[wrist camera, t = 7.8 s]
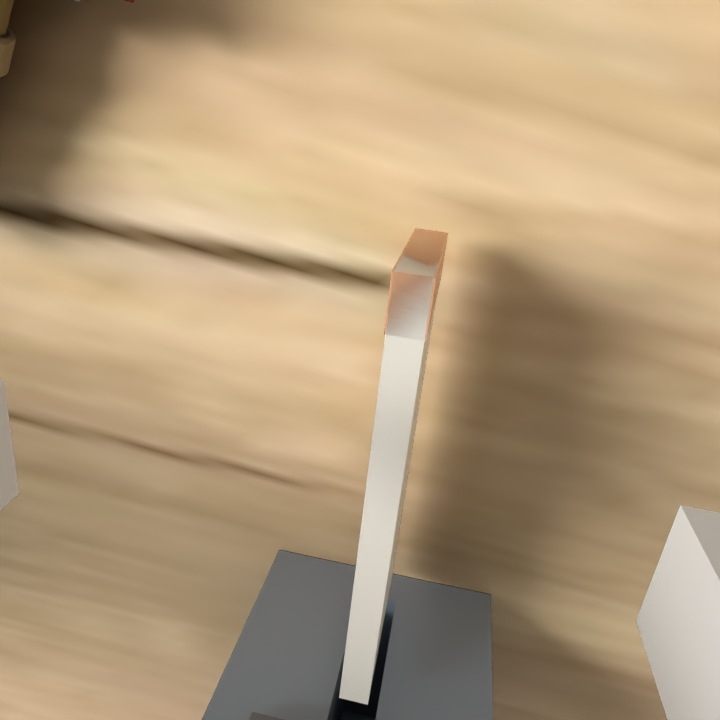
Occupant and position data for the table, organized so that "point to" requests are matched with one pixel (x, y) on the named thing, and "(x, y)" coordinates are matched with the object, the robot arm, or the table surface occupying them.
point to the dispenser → (328, 642)
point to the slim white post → (391, 450)
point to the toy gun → (8, 36)
